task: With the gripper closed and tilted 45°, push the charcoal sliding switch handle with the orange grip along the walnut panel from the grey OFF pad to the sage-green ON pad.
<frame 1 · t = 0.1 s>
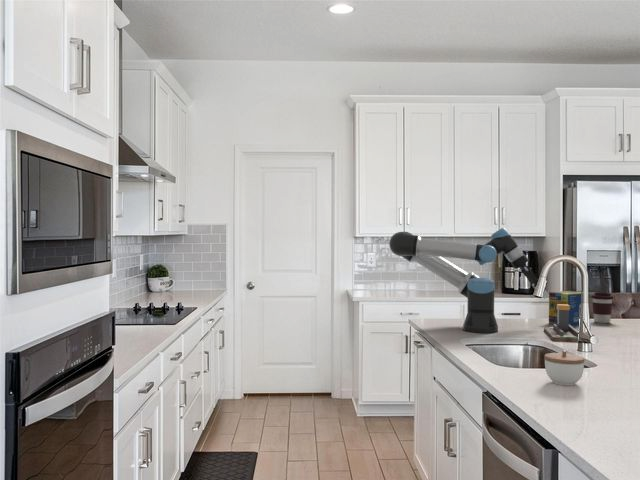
hand: (544, 295, 266), 15 cm above the worktop, tool tilted 35°, fingers open, 13 cm apart
switch handle: (563, 317, 254), point 7 cm above the worktop, slide at 0.0 cm
coffee cup: (602, 322, 289), on the worktop
protein box: (567, 324, 283), on the worktop
switch panel: (565, 336, 247), on the worktop
lidded jar: (563, 383, 168), on the worktop
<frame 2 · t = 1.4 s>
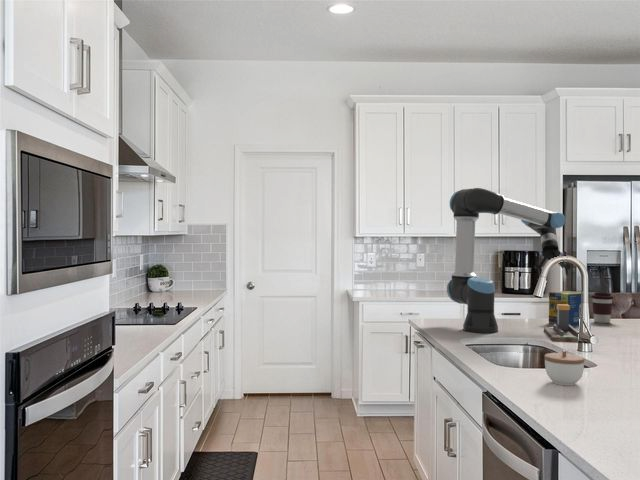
hand: (554, 279, 266), 23 cm above the worktop, tool tilted 45°, fingers open, 9 cm apart
nothing on the worktop moved.
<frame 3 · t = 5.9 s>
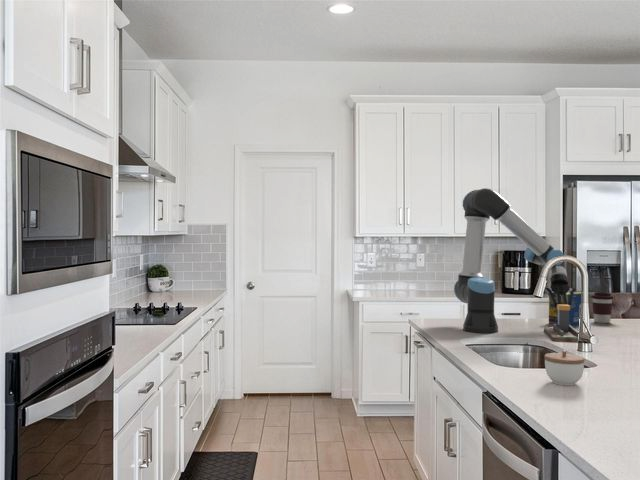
hand: (564, 318, 256), 6 cm above the worktop, tool tilted 45°, fingers closed
switch handle: (563, 317, 253), point 7 cm above the worktop, slide at 0.9 cm, touching gripper
everything else where it was.
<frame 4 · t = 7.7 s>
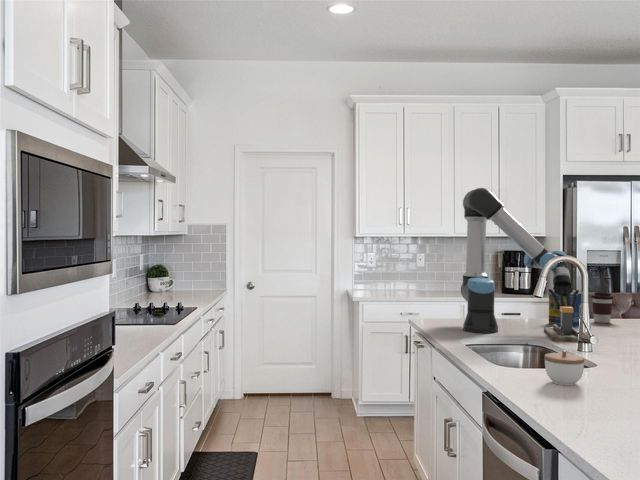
hand: (567, 321, 248), 6 cm above the worktop, tool tilted 45°, fingers closed
switch handle: (566, 320, 245), point 7 cm above the worktop, slide at 8.7 cm
everything else where it was.
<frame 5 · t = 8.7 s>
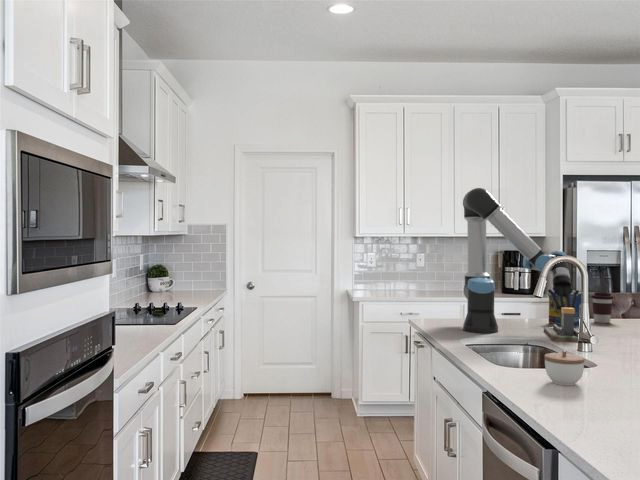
hand: (567, 321, 245), 6 cm above the worktop, tool tilted 45°, fingers closed
switch handle: (567, 321, 242), point 7 cm above the worktop, slide at 12.1 cm, touching gripper
everything else where it was.
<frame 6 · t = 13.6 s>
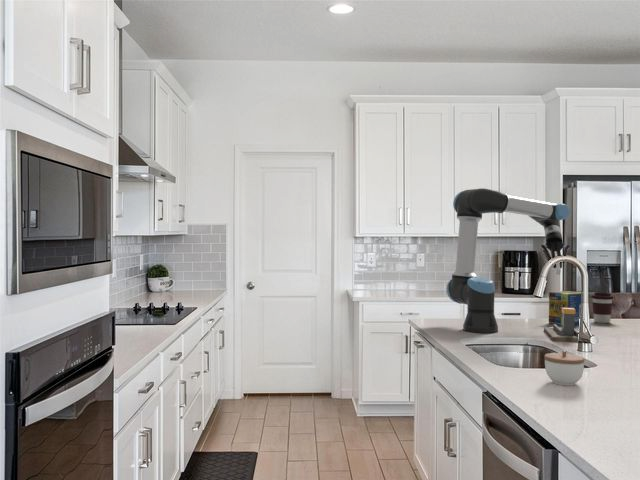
hand: (558, 272, 267), 26 cm above the worktop, tool tilted 45°, fingers closed
switch handle: (568, 321, 241), point 7 cm above the worktop, slide at 13.2 cm
everything else where it was.
at the end: switch handle slide at 13.2 cm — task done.
